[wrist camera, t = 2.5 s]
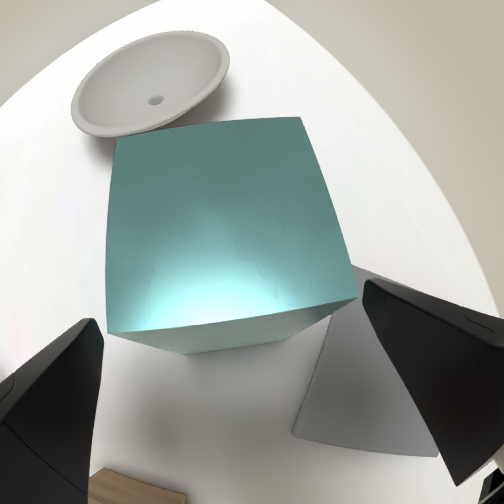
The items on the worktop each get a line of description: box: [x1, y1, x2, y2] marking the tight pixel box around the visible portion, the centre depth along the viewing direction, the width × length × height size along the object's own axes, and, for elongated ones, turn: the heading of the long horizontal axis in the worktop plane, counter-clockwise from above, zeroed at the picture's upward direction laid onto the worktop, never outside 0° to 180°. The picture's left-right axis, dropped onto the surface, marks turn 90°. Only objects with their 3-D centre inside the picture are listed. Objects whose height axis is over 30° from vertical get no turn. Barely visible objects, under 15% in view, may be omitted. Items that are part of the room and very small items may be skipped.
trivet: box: [291, 265, 439, 457], centre depth 17 cm, size 12×12×1 cm
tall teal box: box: [105, 117, 360, 354], centre depth 14 cm, size 6×6×12 cm
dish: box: [71, 31, 230, 137], centre depth 24 cm, size 18×14×5 cm
